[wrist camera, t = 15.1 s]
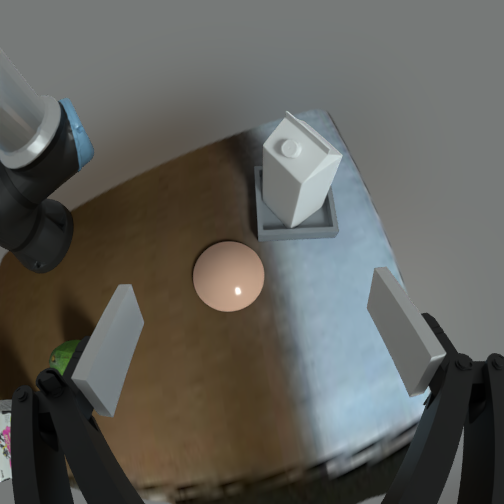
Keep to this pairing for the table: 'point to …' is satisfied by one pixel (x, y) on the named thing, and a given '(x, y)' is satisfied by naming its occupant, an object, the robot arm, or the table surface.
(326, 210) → the square tray
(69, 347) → the avocado
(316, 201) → the milk carton
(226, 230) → the table surface
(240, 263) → the peach flat disc
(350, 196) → the table surface
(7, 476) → the candy box
